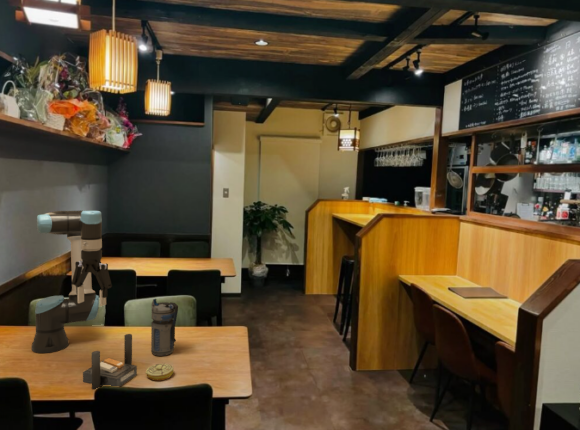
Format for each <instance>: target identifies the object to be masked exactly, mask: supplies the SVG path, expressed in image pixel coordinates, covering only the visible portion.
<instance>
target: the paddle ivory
mask: <svg viewBox="0 0 580 430" xmlns="http://www.w3.org/2000/svg"><path fill="white" fill-rule="evenodd" d="M100 369H103V370H106V371H108V372H111V373H113V372H115V371H116V370H117V367H114V366H112V365H109V364H106V363H104V362H101V361H100Z"/></svg>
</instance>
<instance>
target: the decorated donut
mask: <svg viewBox="0 0 580 430" xmlns="http://www.w3.org/2000/svg"><path fill="white" fill-rule="evenodd" d="M145 374H146V377H147V378H148V379H150V380H152V381H165V380H167V379H170V377H171V376H172V375H173V374H174V366H173V365H172V364H169V363H157V364H153V365H151V366H149V367H147V369H146V370H145Z"/></svg>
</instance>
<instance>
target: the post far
mask: <svg viewBox="0 0 580 430" xmlns="http://www.w3.org/2000/svg"><path fill="white" fill-rule="evenodd" d="M123 340H124V345H123V346H124V350H123V351H124V352H123V353H124V362H123V363H125V364H130V365H133V334H131V333H127V334H125V335H124V339H123Z"/></svg>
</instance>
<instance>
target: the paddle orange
mask: <svg viewBox="0 0 580 430" xmlns="http://www.w3.org/2000/svg"><path fill="white" fill-rule="evenodd" d="M103 360H104V363H106V364H109V365H112V366H114V367H117V368H121V367H123V366H124V362H121V361H118V360H116V359H113V358H109V357H107V358H105V359H103Z"/></svg>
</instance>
